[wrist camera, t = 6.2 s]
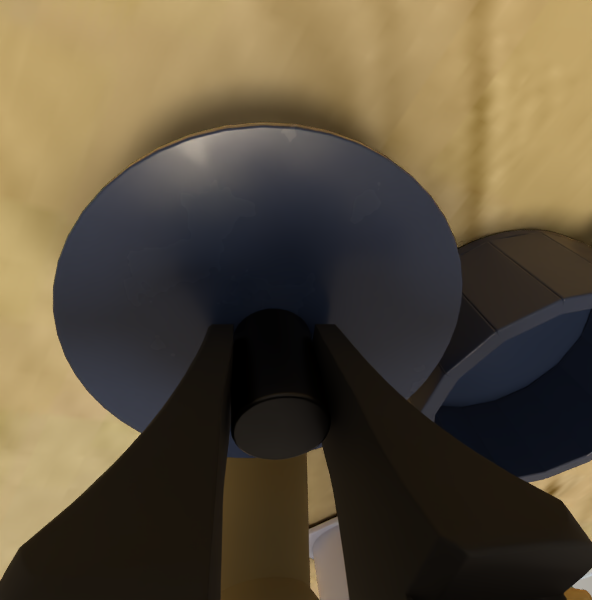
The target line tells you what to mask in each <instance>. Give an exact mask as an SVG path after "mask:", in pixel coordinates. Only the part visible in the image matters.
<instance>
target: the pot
mask: <svg viewBox="0 0 592 600" xmlns="http://www.w3.org/2000/svg"><path fill="white" fill-rule="evenodd" d="M458 252H459V256H460V260H461V270H462V281H463V286H462V301H461V308H460V312H459V317H458V321H457V325H456V328H455V330H454V333H453V336H452V338H451V341H450V343H449V345H448V347H447V349H446V351H445V353H444V355H443V357H442V359H441V360H440V362H439V363H438V365H437V366H436V368H435V369H434V370H433V372H432V373H431V375H430V376H429V377H428V379H427V380H426V381H425V382H424V383H423V384H422V385H421V387H420V388H419V389H418V390H417V391H416V392H415V393H414V394H413V395H412V396H411V397H410V398H409V399H408V400H407V401H408V402H409V403H411V404H412V405H413V406H414V407H415V408H417V409H418V410H419V411H420V412H422V413H423V414H424V415H425V416H426V417H428V418H429V419H430V420H431V421H433V422H434V423H435V424H437V425H438V426H439V427H441V428H442V429H443V430H445V431H446V432H448V433H449V434H450V435H452V436H453V437H455V438H456V439H458V440H459V441H460V442H462V443H463V444H465V445H466V446H468V447H469V448H471V449H472V450H474V451H475V452H477V453H478V454H480V455H481V456H483V457H485V458H486V459H488V460H490V461H491V462H493V463H495V464H496V465H498V466H499V467H501V468H503V469H504V470H506V471H508V472H509V473H511V474H513V475H515V476H516V477H518V478H520V479H522V480H524V481H526V482H533V481H538V480H543V479H545V478H549V477H551V476H554V475H556V474H559V473H562V472H564V471H567V470H569V469H572V468H574V467H577V466H579V465H582V464H584V463H587V462H589V461H591V460H592V247H590V246H588V245H587V244H585V243H583V242H581V241H577V240H573V239H570V238H568V237H567V236H564V235H561V234H558V233H555V232H550V231H543V230H516V231H508V232H503V233H499V234H495V235H490V236H488V237H485V238H482V239H479V240H476V241H473V242H471V243H469V244H467V245H465V246H463V247H461V248H459V249H458Z"/></svg>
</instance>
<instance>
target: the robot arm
mask: <svg viewBox="0 0 592 600" xmlns="http://www.w3.org/2000/svg"><path fill="white" fill-rule="evenodd" d="M233 325H234V324H212V325H211V326H209V327H208V329H207V333H206V335H205V338H204V340H203V342H202V344H201V346H200V348H199V350H198V352H197V354H196V356H195V358H194V360H193V361H192V363H191V365H190V367H189V368H188V370H187V372H186V374H185V375H184V377H183V378H182V380H181V381H180V383H179V384H178V386H177V387H176V389H175V390H174V392H173V393H172V395H171V396H170V398H169V399H168V400H167V402H166V403H165V405H164V406H163V407H162V409H161V410H160V411H159V412H158V414H157V415H156V416H155V418H154V419H153V420H152V421H151V423H150V424H149V425H148V426H147V427H146V429H145V430H144V431H143V432H142V433H141V434H140V435H139V437H138V438H137V439H136V440H135V441H134V442H133V443H132V444H131V446H130V447H129V448H128V449H127V450H126V451H125V452H124V453H123V454H122V455H121V456H120V458H119V459H118V460H117V461H116V462H115V463H114V464H113V465H112V466H111V467H110V468H109V469H108V470H107V471H106V472H104V473H103V474H102V475H101V476H100V477H99V478H98V479H97V480H96V481H95V482H94V483H93V484H92V485H91V486H90V487H89V488H88V489H87V490H86V491H85V492H84V493H83V494H82V495H81V496H79V497H78V498H77V499H76V500H75V501H74V502H73V503H72V504H71V505H70V506H68V507H67V508H66V509H65V510H64V511H62V512H61V513H60V514H59V515H58V516H57V517H55V518H54V519H53V520H52V521H51V522H49V523H48V524H47V525H46V526H45V527H44V528H42V529H41V530H40V531H39V532H38V533H37V534H35V535H34V536H33V537H32V538H31V539H29V540H28V541H27V542H26V543H25V544H23V545H22V546H21V547H20V548H19V550H18V551H17V553H16V555H15V556H14V558H13V560H12V561H11V563H10V565H9V566H8V568H7V570H6V571H5V573H4V575H3V577H2V579H1V581H0V600H221V562H222V524H223V493H224V480H225V471H226V463H227V454H228V445H229V436H230V428H231V387H232V373H233ZM312 343H313V347H314V351H315V355H316V359H317V363H318V367H319V371H320V375H321V379H322V383H323V387H324V391H325V395H326V399H327V403H328V407H329V411H330V415H331V427H330V430H329V433H328V435H327V436H326V438H325V439H324V440H323V441H322V442H321V443H322V447H323V451H324V454H325V458H326V462H327V466H328V469H329V473H330V478H331V482H332V487H333V492H334V498H335V505H336V511H337V517H335V518H333V519H330V520H328V521H326V522H324V523H321V524H319V525H317V526H315V527H313V528H310V529H309V557H310V558H312V559H314V563H315V569H316V576H317V583H318V590H319V596H320V600H567V598H566V597H565V595H564V592H566V591H567V590H568V589H569V588H570V587H571V586H572V585H574V584H575V583H576V582H577V581H578V580H579V579H581V578H582V577H583V576H584V575H585V574H586V573H587V572H588V571H589V570H590V569H591V568H592V542H591V541H590V539H589V538H588V536H587V535H586V534H585V532H584V531H583V529H582V528H581V527H580V525H579V524H578V522H577V521H576V520H575V518H574V517H573V515H572V514H571V513H570V511H569V510H568V508H567V507H566V506H565V505H564V503H563V502H562V501H561V500H559V499H557V498H555V497H554V496H552V495H550V494H548V493H546V492H544V491H542V490H541V489H539V488H537V487H535V486H533V485H531V484H529V483H528V482H526V481H524V480H522V479H520V478H518V477H516V476H515V475H513V474H511V473H509V472H508V471H506V470H504V469H503V468H501V467H499V466H498V465H496V464H495V463H493V462H491V461H490V460H488V459H486V458H485V457H483V456H481V455H480V454H478V453H477V452H475V451H474V450H472V449H471V448H469V447H468V446H466V445H465V444H463V443H462V442H460V441H459V440H458V439H456V438H455V437H453V436H452V435H450V434H449V433H448V432H446V431H445V430H443V429H442V428H441V427H439V426H438V425H437V424H435V423H434V422H433V421H431V420H430V419H429V418H428V417H426V416H425V415H424V414H423V413H422V412H420V411H419V410H418V409H417V408H415V407H414V406H413V405H412V404H411V403H409V402H408V401H407V400H406V399H405V398H404V397H403V396H402V395H400V394H399V393H398V392H397V391H396V390H395V389H394V388H393V387H392V386H391V385H390V384H389V383H388V382H387V381H386V380H385V379H384V378H383V377H382V376H381V375H380V374H379V373H378V372H377V371H376V370H375V369H374V368H373V367H372V366H371V365H370V363H369V362H368V361H367V360H366V359H365V358H364V357H363V356H362V355H361V354H360V352H359V351H358V350H357V349H356V348H355V347H354V346H353V344H352V343H351V342H350V341H349V340H348V338H347V337H346V336H345V335H344V334H343V333H342V331H341V330H340V329H339V328H338V327H337V326H336V325H335V324H315V329H314V336H313V342H312Z"/></svg>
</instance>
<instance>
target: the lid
mask: <svg viewBox="0 0 592 600" xmlns="http://www.w3.org/2000/svg"><path fill="white" fill-rule="evenodd" d="M462 286H463V281H462V270H461V260H460V256H459V252H458V249H457V245H456V241H455V238H454V236H453V233H452V231H451V229H450V227H449V225H448V222H447V220H446V218H445V216H444V215H443V213H442V212H441V210H440V209H439V207H438V206H437V204H436V203H435V201H434V200H433V198H432V197H431V195H430V194H429V193H428V192H427V191H426V190H425V189H424V188H423V187H422V186H421V185H420V184H419V183H418V182H417V181H416V180H415V179H414V178H413V177H412V176H411V175H410V174H409V173H407V172H406V171H405V170H403V169H402V168H401V167H399V166H398V165H397V164H395V163H394V162H393V161H391V160H390V159H389V158H387V157H386V156H385V155H383V154H381V153H379V152H377V151H376V150H374V149H372V148H370V147H368V146H366V145H364V144H362V143H361V142H359V141H357V140H354V139H351V138H348V137H345V136H342V135H340V134H337V133H334V132H331V131H328V130H324V129H319V128H314V127H309V126H304V125H298V124H289V123H269V122H256V123H245V124H235V125H225V126H221V127H217V128H213V129H209V130H204V131H200V132H196V133H192V134H189V135H187V136H185V137H182V138H180V139H177V140H175V141H172V142H170V143H167V144H165V145H162V146H160V147H158V148H156V149H155V150H153V151H151V152H150V153H148V154H146V155H145V156H143V157H141V158H140V159H138V160H136V161H134V162H133V163H131V164H130V165H129V166H128V167H126V168H125V169H124V170H123V171H122V172H120V173H119V174H118V175H117V176H115V177H114V178H113V179H112V180H111V181H109V182H108V183H107V184H106V185H105V186H104V187H103V188H102V189H101V191H100V192H99V193H98V194H97V195H96V196H95V197H94V199H93V200H92V201H91V202H90V203H89V204H88V206H87V207H86V208H85V209H84V210H83V211H82V213H81V215H80V216H79V218H78V220H77V221H76V223H75V224H74V226H73V228H72V229H71V231H70V233H69V234H68V236H67V239H66V241H65V244H64V247H63V249H62V252H61V254H60V257H59V260H58V263H57V269H56V274H55V279H54V285H53V313H54V319H55V324H56V330H57V335H58V338H59V341H60V343H61V346H62V349H63V352H64V355H65V357H66V359H67V360H68V362H69V364H70V366H71V368H72V370H73V371H74V373H75V375H76V376H77V378H78V379H79V380H80V382H81V383H82V384H83V386H84V387H85V388H86V390H87V391H88V392H89V393H90V394H91V395H92V396H93V397H94V398H95V399H96V400H97V401H98V402H99V403H100V404H101V405H102V406H103V407H104V408H105V409H106V410H108V411H109V412H110V413H111V414H113V415H114V416H115V417H117V418H118V419H119V420H120V421H122V422H124V423H125V424H127V425H128V426H130V427H132V428H133V429H135V430H137V431H138V432H140V433H142V432H143V431H144V430H145V429H146V427H147V426H148V425H149V424H150V423H151V421H152V420H153V419H154V418H155V416H156V415H157V414H158V412H159V411H160V410H161V409H162V407H163V406H164V405H165V403H166V402H167V400H168V399H169V398H170V396H171V395H172V393H173V392H174V390H175V389H176V387H177V386H178V384H179V383H180V381H181V380H182V378H183V377H184V375H185V374H186V372H187V370H188V368H189V367H190V365H191V363H192V361H193V360H194V358H195V356H196V354H197V352H198V350H199V348H200V346H201V344H202V342H203V340H204V338H205V335H206V333H207V329H208V327H209V326H211V325H212V324H234V325H233V373H232V387H231V428H230V436H229V445H228V454H227V457H231V458H260V459H267V460H282V459H289V458H293V457H297V456H300V455H302V454H305V453H307V452H309V451H311V450H314V449H318V448H321V447H322V443H321V442H322V441H323V440H324V439H325V438H326V436H327V435H328V433H329V430H330V427H331V415H330V411H329V407H328V403H327V399H326V395H325V391H324V387H323V383H322V379H321V375H320V371H319V367H318V363H317V359H316V355H315V351H314V347H313V343H312V342H313V336H314V329H315V324H335V325H336V326H337V327H338V328H339V329H340V330H341V331H342V333H343V334H344V335H345V336H346V337H347V338H348V340H349V341H350V342H351V343H352V344H353V346H354V347H355V348H356V349H357V350H358V351H359V352H360V354H361V355H362V356H363V357H364V358H365V359H366V360H367V361H368V362H369V363H370V365H371V366H372V367H373V368H374V369H375V370H376V371H377V372H378V373H379V374H380V375H381V376H382V377H383V378H384V379H385V380H386V381H387V382H388V383H389V384H390V385H391V386H392V387H393V388H394V389H395V390H396V391H397V392H398V393H399V394H400V395H402V396H403V397H404V398H405V399H406V400H408V399H409V398H410V397H411V396H412V395H413V394H414V393H415V392H416V391H417V390H418V389H419V388H420V387H421V385H422V384H423V383H424V382H425V381H426V380H427V379H428V377H429V376H430V375H431V373H432V372H433V370H434V369H435V368H436V366H437V365H438V363H439V362H440V360H441V359H442V357H443V355H444V353H445V351H446V349H447V347H448V345H449V343H450V341H451V338H452V336H453V333H454V330H455V328H456V325H457V321H458V317H459V312H460V308H461V301H462Z"/></svg>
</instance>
